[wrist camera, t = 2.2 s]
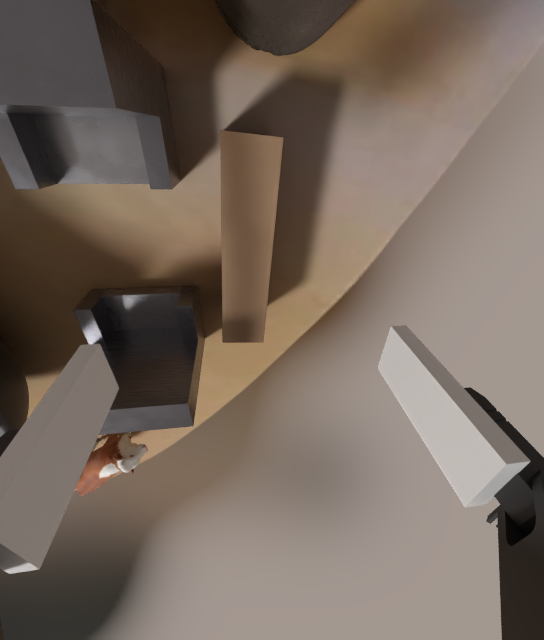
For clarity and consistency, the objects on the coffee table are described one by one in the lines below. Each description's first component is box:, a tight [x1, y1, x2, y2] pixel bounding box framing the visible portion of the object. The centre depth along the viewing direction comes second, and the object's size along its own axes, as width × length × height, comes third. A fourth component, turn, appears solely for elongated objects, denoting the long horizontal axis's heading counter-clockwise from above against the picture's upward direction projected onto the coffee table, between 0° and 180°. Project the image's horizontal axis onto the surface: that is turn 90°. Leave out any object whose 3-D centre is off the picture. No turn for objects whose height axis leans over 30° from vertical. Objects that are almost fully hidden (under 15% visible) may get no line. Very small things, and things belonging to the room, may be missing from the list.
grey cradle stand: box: [0, 0, 205, 435], centre depth 21 cm, size 10×24×12 cm, turn 179°
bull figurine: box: [76, 432, 148, 496], centre depth 37 cm, size 4×13×8 cm, turn 129°
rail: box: [220, 130, 284, 343], centre depth 24 cm, size 4×17×6 cm, turn 174°
